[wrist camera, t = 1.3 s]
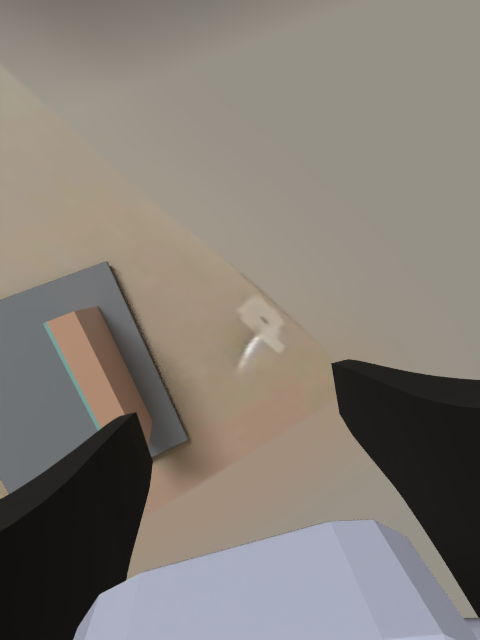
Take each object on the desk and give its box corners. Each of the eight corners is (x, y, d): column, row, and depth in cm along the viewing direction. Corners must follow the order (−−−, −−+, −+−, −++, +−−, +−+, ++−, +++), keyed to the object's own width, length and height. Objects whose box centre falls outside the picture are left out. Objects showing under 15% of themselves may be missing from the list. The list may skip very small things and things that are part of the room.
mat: (26, 514, 21) (23, 518, 21) (-82, 330, 19) (-88, 331, 19) (187, 437, 23) (187, 440, 23) (107, 261, 21) (106, 261, 20)
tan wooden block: (131, 430, 22) (118, 471, 17) (73, 314, 20) (42, 323, 16) (152, 421, 22) (146, 458, 17) (97, 305, 21) (74, 311, 16)
